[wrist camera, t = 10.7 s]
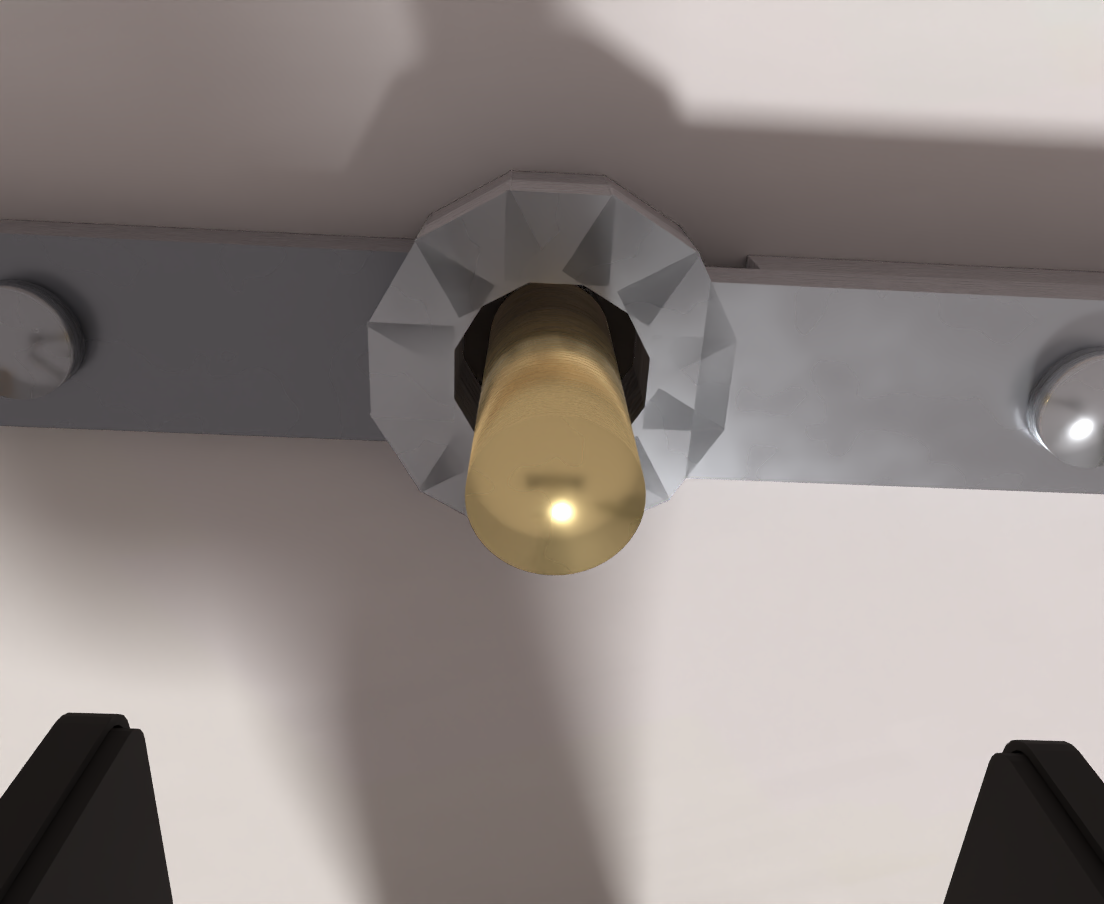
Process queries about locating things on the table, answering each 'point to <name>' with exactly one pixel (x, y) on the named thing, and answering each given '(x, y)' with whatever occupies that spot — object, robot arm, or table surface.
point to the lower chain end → (204, 326)
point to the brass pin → (553, 437)
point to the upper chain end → (759, 354)
